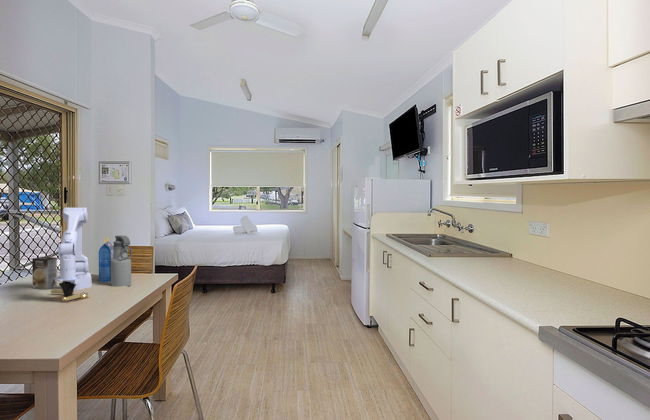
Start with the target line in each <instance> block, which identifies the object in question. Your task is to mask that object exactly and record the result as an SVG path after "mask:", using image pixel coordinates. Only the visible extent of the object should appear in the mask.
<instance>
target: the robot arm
mask: <svg viewBox="0 0 650 420" xmlns="http://www.w3.org/2000/svg"><path fill="white" fill-rule="evenodd" d="M62 218H63V220H64V221H65V224H66V230H65V231H63V232H62V237H61V242H60V244H58V248H57V253H58V260H59V268H60V269H59V274H60V275H57V282H60V283H59V284H58V285H59V287H60V288H61V289H62V290H63V293H64V294H63V295H64V296H70V295H72V293H73V290H74V291H79V290H83V289H84V290H85V289H87V288H88V289H89V288H92V286H93V285H92V284H93V283H92V278H93V277H92V274H91V273H90V272H89V269H90V262H89V258H88V256H86V255H84V254H83V226H84V224H86V223H88V208H87V206H86V207H67V206H66V207H64V208H63V210H62Z"/></svg>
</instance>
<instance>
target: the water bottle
mask: <svg viewBox="0 0 650 420" xmlns="http://www.w3.org/2000/svg"><path fill="white" fill-rule="evenodd" d="M114 238H115V241H113V249H114V259H112V260H111V281H110V286H111V287H117V288H119V287H130V286H131V285H132V260H131V258H132V256H133V249H132V248H130V247H129V246H131V240H130V238H129V236H127V235H115V236H114ZM129 253H130V254H129Z"/></svg>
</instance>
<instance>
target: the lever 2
mask: <svg viewBox="0 0 650 420" xmlns="http://www.w3.org/2000/svg"><path fill="white" fill-rule="evenodd" d="M87 297H89V293H88V292H79V293H74V295H70V296H65V297H63V298H62V300H63V301H67V300H71V299H75V298H78V299H83V300H85V299H84V298H87ZM87 299H88V298H87Z"/></svg>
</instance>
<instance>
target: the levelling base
mask: <svg viewBox="0 0 650 420" xmlns="http://www.w3.org/2000/svg"><path fill="white" fill-rule="evenodd" d="M63 297H65V296H64V294H59V295H57V296H53V297H48V298H47V299H48V300H52V301H57V302H60V303H65V304H70V303H74V302H78V301H82V300H86V299H89V298H90V299H91V297H90V296H88V297H87V298H84V299H78V298H75V299H71V300H67V301H63V300H62V298H63Z"/></svg>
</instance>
